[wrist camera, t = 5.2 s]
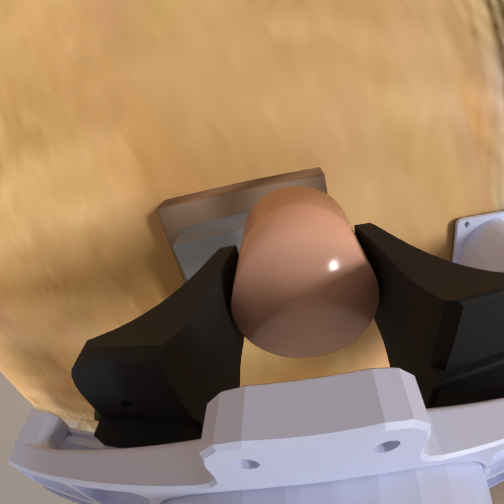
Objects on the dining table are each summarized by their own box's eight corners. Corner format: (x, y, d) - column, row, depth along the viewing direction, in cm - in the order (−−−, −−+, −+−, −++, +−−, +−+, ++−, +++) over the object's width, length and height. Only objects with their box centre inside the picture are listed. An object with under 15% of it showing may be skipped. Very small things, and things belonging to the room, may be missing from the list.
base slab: (318, 165, 21) (324, 174, 19) (335, 292, 26) (340, 312, 24) (167, 196, 23) (157, 209, 21) (210, 312, 28) (206, 331, 26)
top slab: (300, 198, 20) (304, 214, 17) (322, 298, 23) (326, 320, 21) (182, 228, 21) (172, 246, 19) (221, 317, 25) (216, 339, 23)
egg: (345, 179, 12) (382, 230, 8) (349, 274, 14) (374, 347, 10) (233, 194, 12) (215, 252, 8) (253, 286, 14) (246, 363, 10)
